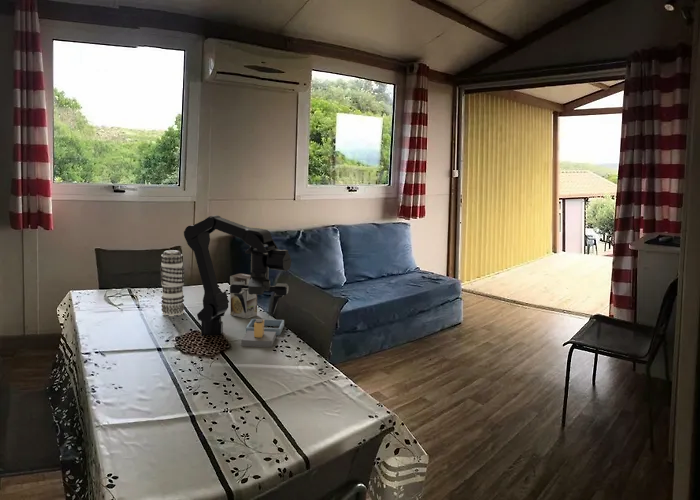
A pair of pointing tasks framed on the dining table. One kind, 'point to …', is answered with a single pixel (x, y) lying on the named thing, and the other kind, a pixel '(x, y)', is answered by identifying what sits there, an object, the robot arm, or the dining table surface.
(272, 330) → the parts tray
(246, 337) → the fuse holder
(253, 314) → the coffee box
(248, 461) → the dining table surface
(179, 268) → the decorative candle
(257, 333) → the fuse
